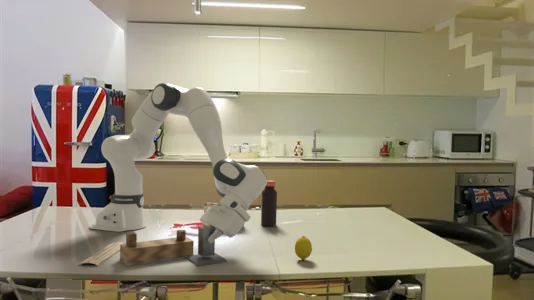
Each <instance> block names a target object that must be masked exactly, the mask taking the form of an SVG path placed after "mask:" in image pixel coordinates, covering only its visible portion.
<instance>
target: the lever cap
mask: <svg viewBox="0 0 534 300" xmlns="http://www.w3.org/2000/svg"><path fill="white" fill-rule="evenodd" d="M197 228H198V231H197V232H198V233H197V234H198V235H197V236H198V238H197V254H199V255H201V256H202V257H206V256H212V255H215V253H216V252H215V249H216V244H215V243H216V239H215V240H214V241H213V242H212V243H209V242H208V241H207V240H206V239H207V238H208V236H209V235H210V236H211V235H212V234H213V233H214V231H215V227H212V226H210V225H209V224H207V223H205V224H203V223H202V225H199V226H198V227H197Z"/></svg>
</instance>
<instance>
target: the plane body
mask: <svg viewBox="0 0 534 300" xmlns="http://www.w3.org/2000/svg"><path fill="white" fill-rule="evenodd" d="M186 233H187V231H186V229H177V230H176V237H170V238H169V237H168V238H163V239H153V240H146V241H145V240H144V241H137V237H138V236H137V233H136V232H135V231H130V232H128V231H127V232H126V233H125V235H126V237H125V242H126V243H125V244H120V251H119V260H120V261H121V262H122V264H123V265H124V266H126V267H129V266H136V265H143V264H149V263H157V262H163V261H170V260H176V259H183V258H186V256H190V255H195V254H194V247H195V246H194V241H195V240H192V239H190V238H189V237H188V236H186V235H187V234H186Z"/></svg>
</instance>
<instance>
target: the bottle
mask: <svg viewBox="0 0 534 300" xmlns="http://www.w3.org/2000/svg"><path fill="white" fill-rule="evenodd" d="M275 187H276V180H270V179H269V180H268V179H267V184H266V186H265V188H264V189H263V191H262V192H261V208H260V209H261V210H260V211H261V212H260V213H261V214H260V215H261V217H260V220H261V221H260V225H261V226H263V227H266V228H268V227H269V228H272V227H276V226H277V209H278V206H277V205H278V202H277V201H278V192H277V191H276V189H275Z"/></svg>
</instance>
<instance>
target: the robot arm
mask: <svg viewBox="0 0 534 300" xmlns="http://www.w3.org/2000/svg"><path fill="white" fill-rule="evenodd" d="M169 114H171V115H174V116H180V117H181V116H182V117H187V118H188V122H189V123H190V125H191V128H192V129H193V132H194V133H195V135H196V136H197V139H199V141H200V143H201V144H202V146H203V147H204V149H205V151H206V153H207V155H208V158H209V159H210V162H211V165H212V169H213V170H212V172H213V174H212V175H213V180H214V182H215V190H216V193H218V195H219V196H220V197H222V198H221V200H220V201H219V202H218V203H217V204H212V205H211V206H210V207H209V208H208V209H207V210H206V211H205V212H204V213H203V214H202V215H201V216H200V218H199V221H200V222H201V223H202V225H203V224H205V223H207V224H209V225H210V226H212V227H215V231H214V233H213V234H212V235H211V236H210V235H209V236H208V238H207V239H206V240H207V241H208V242H209V243H212V242H213V241H214V240H215V241H216V240H217V239H218V238H220V237H221V236H222V235H224V236H225V237H228V238H233V237H235V236H236V235H237V234H238V233H239V232H240V231H241V229H242V228H243V227H245V223H246V222H249V221H250V220H251V218H252V217H251V215H250V213H248V209H249V208H250V206H251V204H252V203H253V202H255V201H256V200H257V199H258V198H259V196H260V195H262V191H263V190H264V189H265V186H266V184H267V180H268V179H267V176H266V173H265V172H264V171H263V170H262V169H261V168H260V167H259V166H257V165H247V164H243V163H240V162H238V161H235V160H234V159H232V158H229V157H228V156H227V153H226V150H225V147H224V141H223V129H222V121H221V117H220V114H219V111H218V109H217V107H216V104H215V103H214V100H213V99H212V97H211V95H210V94H209V93H208V91H207V90H206V89H204V88H202V87H200V86H197V87H192V88H190V89H189V88H186V87H185V86H184V87H183V86H178V85H176V84H171V83H169V82H167V83H166V82H164V83H163V82H162V83H158V84H157V85H155V87H154V88H153V89H152V90H151V92H150V93H149V94H148V95H147V96H146V98H145V99H143V101H142V103H141V104H140V105H139V107H138V109H137V110H136V112H135V113H134V115H133V117H132V118H131V126H132V127H133V130H132V131H131V133H130V134H115V135H112V136H109V137H106V138H105V139H104V140H103V141H102V143H101V147H100V151H101V154H102V155H103V158H105V160H106V161H108V162H109V164H110V167H111V168H112V171H113V174H114V193H113V194H112V195H110V196H108V198H109V200H110V202H109V203H108V204H107V205H106V206H104V207H103V208H102V209H101V210H99V211H98V213H97V214H96V217H95V218H96V219H95V222H92V223H91V224H90V225H89V229H91V230H101V231H108V232H109V231H110V232H118V233H119V232H120V233H121V232H126V231H127V232H128V231H133V230H134V231H135V230H141V229H143V228H145V227H146V226H147V224H146V220H145V216H144V203H145V202H144V201H145V200H144V193H143V178H144V177H143V174H142V173H141V172H140V171H138V169H137V167H136V164H135V162H136V161H138V162H139V161H143V160H146V159H149V158H151V157H153V155H154V154H155V151H156V145H155V144H156V143H155V142H154V139H155V136H156V134H157V132H158V131H159V129H160V127H161V126H162V124H163V123H164V122H165V120H166V118H167V117H168V115H169Z"/></svg>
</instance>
